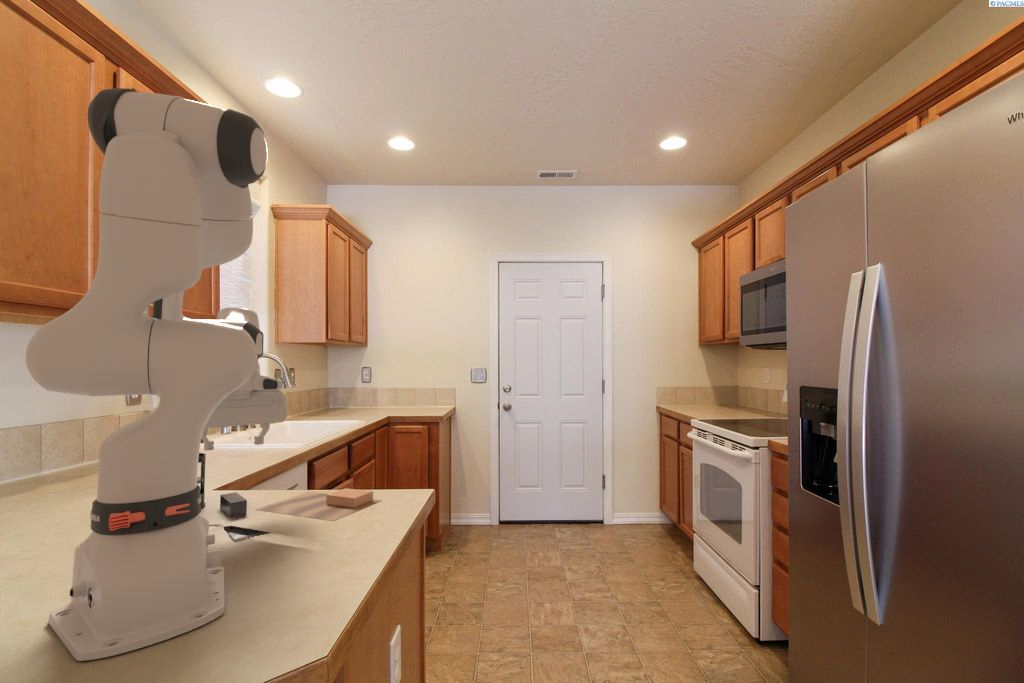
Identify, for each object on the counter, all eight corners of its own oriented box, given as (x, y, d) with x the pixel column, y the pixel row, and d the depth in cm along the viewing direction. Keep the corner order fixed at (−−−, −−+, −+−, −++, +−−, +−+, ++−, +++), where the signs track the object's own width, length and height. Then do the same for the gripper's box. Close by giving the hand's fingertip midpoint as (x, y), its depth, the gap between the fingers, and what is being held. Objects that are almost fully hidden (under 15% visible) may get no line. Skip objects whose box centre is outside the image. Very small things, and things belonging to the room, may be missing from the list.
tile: (345, 497, 106) (372, 500, 103) (326, 504, 100) (354, 508, 97) (345, 488, 106) (373, 491, 103) (326, 494, 100) (354, 498, 97)
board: (382, 507, 103) (382, 500, 103) (333, 528, 89) (333, 521, 89) (309, 498, 111) (309, 491, 111) (254, 516, 97) (254, 509, 97)
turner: (270, 533, 87) (270, 509, 87) (234, 541, 83) (235, 516, 83) (243, 511, 101) (243, 490, 102) (211, 517, 97) (212, 496, 97)
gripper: (180, 384, 88) (177, 455, 87) (290, 381, 103) (289, 443, 102) (175, 384, 93) (172, 451, 92) (281, 381, 107) (280, 440, 106)
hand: (234, 447), depth 97 cm, fingers open, 8 cm apart
